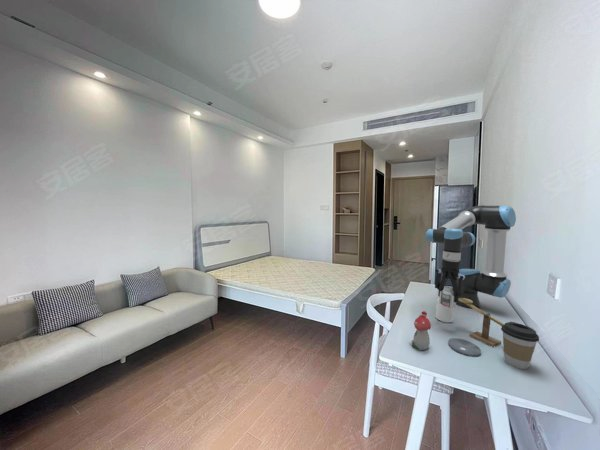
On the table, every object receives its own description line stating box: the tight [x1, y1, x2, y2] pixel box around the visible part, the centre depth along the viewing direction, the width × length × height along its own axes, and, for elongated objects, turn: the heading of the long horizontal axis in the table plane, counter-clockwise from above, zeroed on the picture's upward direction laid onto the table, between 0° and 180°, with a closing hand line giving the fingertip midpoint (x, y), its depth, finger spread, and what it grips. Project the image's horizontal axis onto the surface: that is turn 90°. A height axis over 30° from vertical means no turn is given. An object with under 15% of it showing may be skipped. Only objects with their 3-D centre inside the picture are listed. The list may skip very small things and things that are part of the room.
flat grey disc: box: [447, 337, 482, 358], centre depth 107 cm, size 12×12×1 cm
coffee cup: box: [500, 321, 540, 370], centre depth 97 cm, size 11×11×15 cm
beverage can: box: [435, 296, 455, 324], centre depth 133 cm, size 8×8×12 cm
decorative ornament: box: [411, 310, 432, 351], centre depth 106 cm, size 9×7×15 cm
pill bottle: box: [441, 285, 454, 308], centre depth 120 cm, size 5×5×10 cm
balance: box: [458, 298, 517, 348], centre depth 114 cm, size 7×26×16 cm, turn 27°
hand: (447, 305), depth 120 cm, fingers closed on pill bottle, 5 cm apart
